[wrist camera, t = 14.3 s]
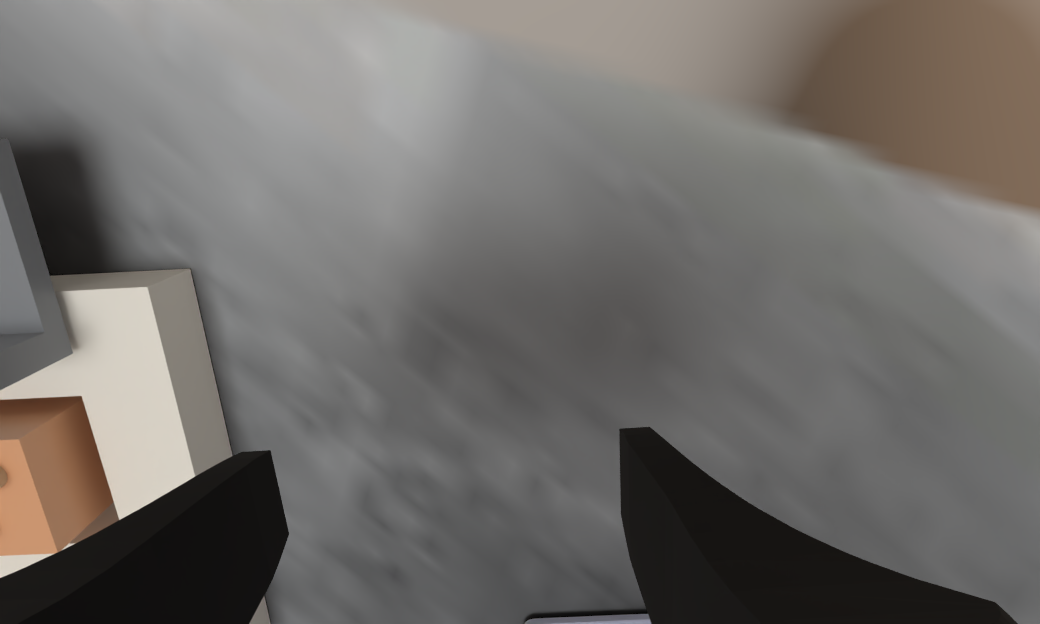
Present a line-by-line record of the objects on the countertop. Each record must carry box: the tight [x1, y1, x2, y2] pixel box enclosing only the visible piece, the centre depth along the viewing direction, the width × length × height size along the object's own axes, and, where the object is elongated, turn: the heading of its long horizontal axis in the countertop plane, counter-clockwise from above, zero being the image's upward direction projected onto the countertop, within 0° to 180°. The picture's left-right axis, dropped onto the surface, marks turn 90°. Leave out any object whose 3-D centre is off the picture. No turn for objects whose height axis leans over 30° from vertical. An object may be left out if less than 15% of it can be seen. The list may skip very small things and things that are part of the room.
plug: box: [0, 396, 114, 556], centre depth 20 cm, size 4×4×5 cm
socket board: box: [0, 269, 271, 624], centre depth 22 cm, size 16×12×2 cm
